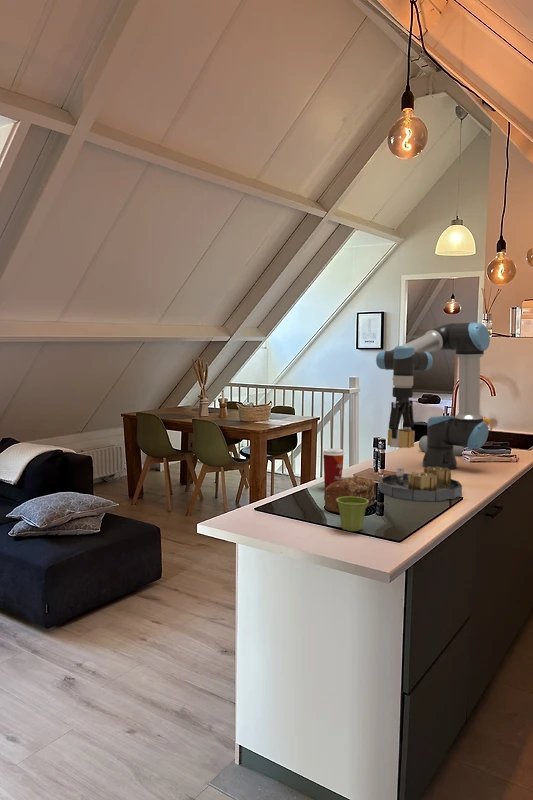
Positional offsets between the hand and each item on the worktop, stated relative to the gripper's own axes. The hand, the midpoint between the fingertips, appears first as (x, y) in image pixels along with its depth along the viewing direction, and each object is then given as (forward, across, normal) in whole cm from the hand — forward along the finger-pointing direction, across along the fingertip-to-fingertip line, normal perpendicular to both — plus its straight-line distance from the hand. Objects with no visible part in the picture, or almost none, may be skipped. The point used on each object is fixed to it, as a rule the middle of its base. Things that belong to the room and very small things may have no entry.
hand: (400, 445), depth 233 cm
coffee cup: (+17, +18, -19) cm, 31 cm away
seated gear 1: (+15, +7, +12) cm, 20 cm away
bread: (+17, +37, -1) cm, 40 cm away
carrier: (+17, 0, +8) cm, 18 cm away
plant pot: (+17, +58, +12) cm, 61 cm away
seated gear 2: (+15, -7, +12) cm, 20 cm away
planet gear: (0, 0, 0) cm, 0 cm away
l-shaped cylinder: (+17, -85, -18) cm, 88 cm away
